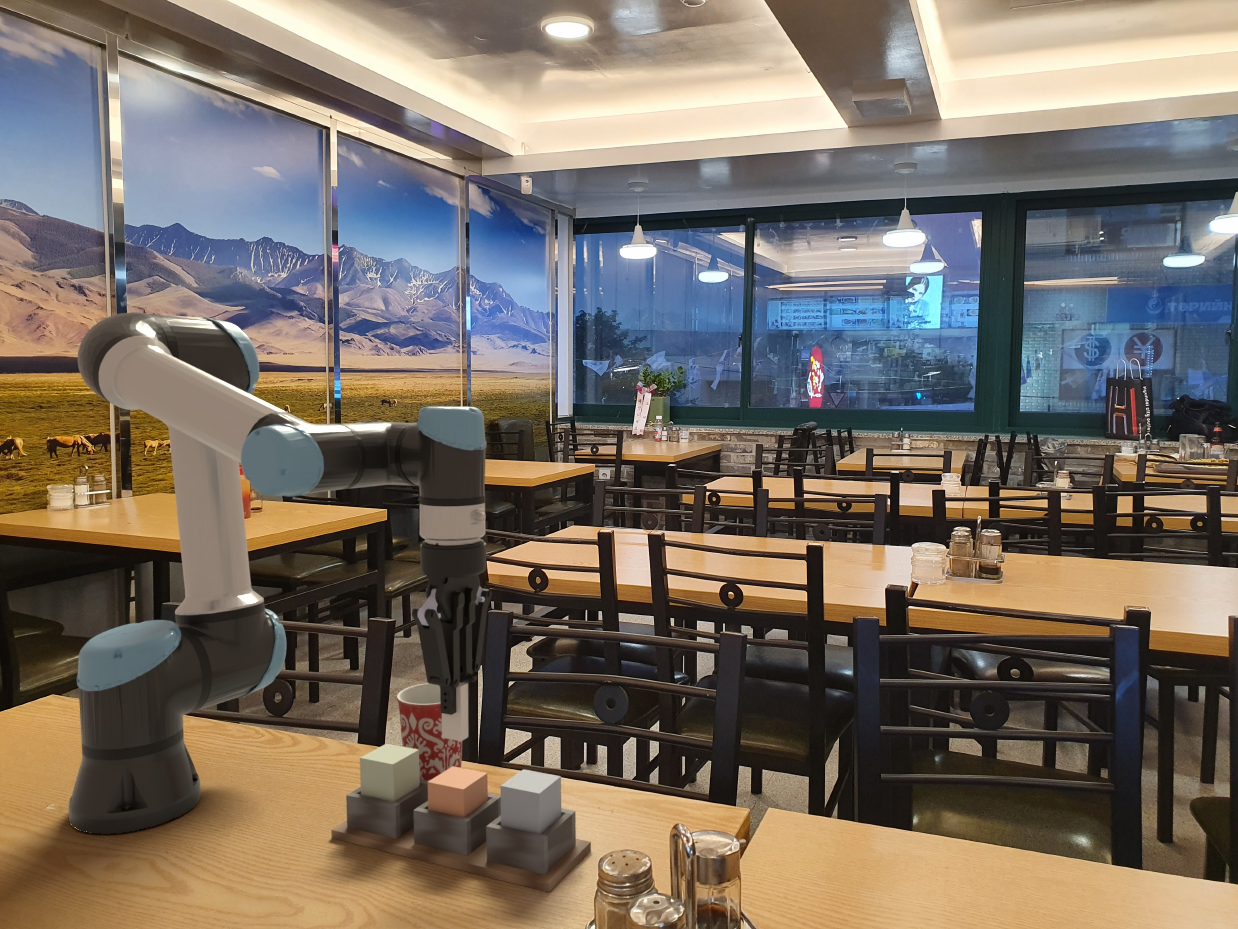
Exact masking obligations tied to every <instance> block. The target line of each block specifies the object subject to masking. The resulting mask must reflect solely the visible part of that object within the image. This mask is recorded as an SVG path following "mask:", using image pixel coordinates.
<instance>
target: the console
mask: <svg viewBox="0 0 1238 929" xmlns="http://www.w3.org/2000/svg"><path fill="white" fill-rule="evenodd" d="M345 797H346V799H345V800H346V803H345V804H346V820H345V821H344V822H341V823H340V824H338V825H337V826H335V827H333V828H332V829H331V830H330V831H331V833H330V834H331V839H336V840H339V841H343V842H347V843H350V844H354V845H355V844H356V845H358V846H364V847H367V848H371V849H375V850H379V851H383V852H386V853H387V852H388V853H391V854H395V855H399V856H403V857H407V858H411V859H416V860H418V861H422V862H427V863H430V864H435V865H438V866H442V867H447V868H451V869H455V870H459V871H463V872H467V873H471V874H475V875H479V876H483V877H487V878H491V879H495V880H499V881H503V882H507V883H511V884H515V885H520V886H523V887H527V888H531V889H534V890H539V891H543V892H547V893H550V892H551V891H552V890H553V889H554V888H555V887H556V886H557V885H558V884H559V883H560V882H562V880H563V879H564V878H565V877H566V876H567V875H568V874H569V873H570V872H572V870H573V869H574V868H575V867H576V866H577V865H578V864H579V863H580V862H581V861H582V860H583V859H584V858H585V857H586V856H587V855H588V854H589V853H590V852H591V851H592V849H591V848H592V845H591V844H592V841H590V840H589V841H588V840H583V839H580V838H576V833H577V831H576V830H577V829H576V828H577V826H576V825H577V824H576V822H577V821H576V819H577V818H576V810H571V809H567V808H562V807H561V818H560V819H558V820H557V821H556V822H555V823H554V824H553V825H552V826H550V827H549V828H548V829H547V830H546V831H545V832H544V833H542V834H536V833H532V832H527V831H523V830H518V829H513V828H509V827H504V826H501V795H499V794H493V793H489V792H488V801H487V802H486V803H484V804H483V805H482V806H480V807H479V808H477V809H476V810H475V811H473V812H472V813H471V814H469V815H468V816H467V817H465V818H464V817H459V816H455V815H450V814H446V813H441V812H437V811H432V810H428V781H426V780H421V779H420V786H419V787H418V788H416V789H415V790H413V791H411V792H410V793H408V794H407V795H405V796H403V797H402V798H400V799H399V800H397V801H396V802H391V801H387V800H382V799H378V798H373V797H369V796H364V795H361V786H360V787H358V788H356V789H355V790H352V791H351V792H349V793H347V794H346V796H345Z"/></svg>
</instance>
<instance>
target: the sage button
mask: <svg viewBox="0 0 1238 929" xmlns="http://www.w3.org/2000/svg"><path fill="white" fill-rule="evenodd" d="M359 771H360V772H359V773H360V775H359V776H360V778H359V779H360V787H361V795H364V796H369V797H373V798H378V799H382V800H387V801H391V802H396V801H397V800H399V799H400V798H402V797H403V796H405V795H407V794H408V793H410V792H411V791H413V790H415V789H416V788H418V787H419V786H420V776H419V750H418V749H413V748H407V747H402V745H396V744H391V743H385V744H383V745H381V746H379V747H378V748H376V749H374V750H372V751H369V752H368V753H366V754H364V755H362V756H360V757H359Z"/></svg>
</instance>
